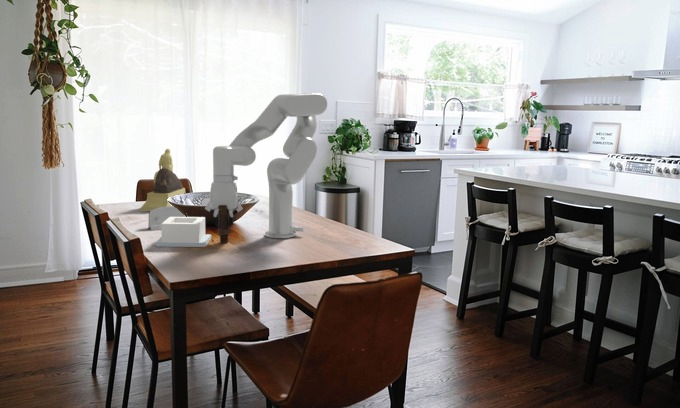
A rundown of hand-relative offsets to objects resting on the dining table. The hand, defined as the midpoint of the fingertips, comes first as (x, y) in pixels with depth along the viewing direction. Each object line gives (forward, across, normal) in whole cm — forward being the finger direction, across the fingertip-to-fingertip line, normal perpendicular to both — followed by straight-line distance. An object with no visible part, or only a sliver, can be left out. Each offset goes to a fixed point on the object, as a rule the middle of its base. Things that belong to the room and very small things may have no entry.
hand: (224, 226), depth 207 cm
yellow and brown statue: (+7, +40, -74) cm, 85 cm away
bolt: (+7, 0, 0) cm, 7 cm away
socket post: (+6, +15, 0) cm, 16 cm away
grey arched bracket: (+7, +27, -27) cm, 39 cm away
